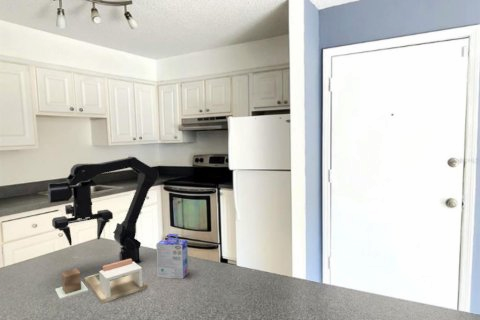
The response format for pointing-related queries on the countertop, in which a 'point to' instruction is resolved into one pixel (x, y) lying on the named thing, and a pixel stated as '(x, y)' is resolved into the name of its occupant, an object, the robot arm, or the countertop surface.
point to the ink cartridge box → (172, 258)
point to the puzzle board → (113, 287)
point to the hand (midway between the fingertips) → (84, 242)
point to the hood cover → (119, 274)
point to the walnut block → (71, 281)
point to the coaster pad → (62, 294)
